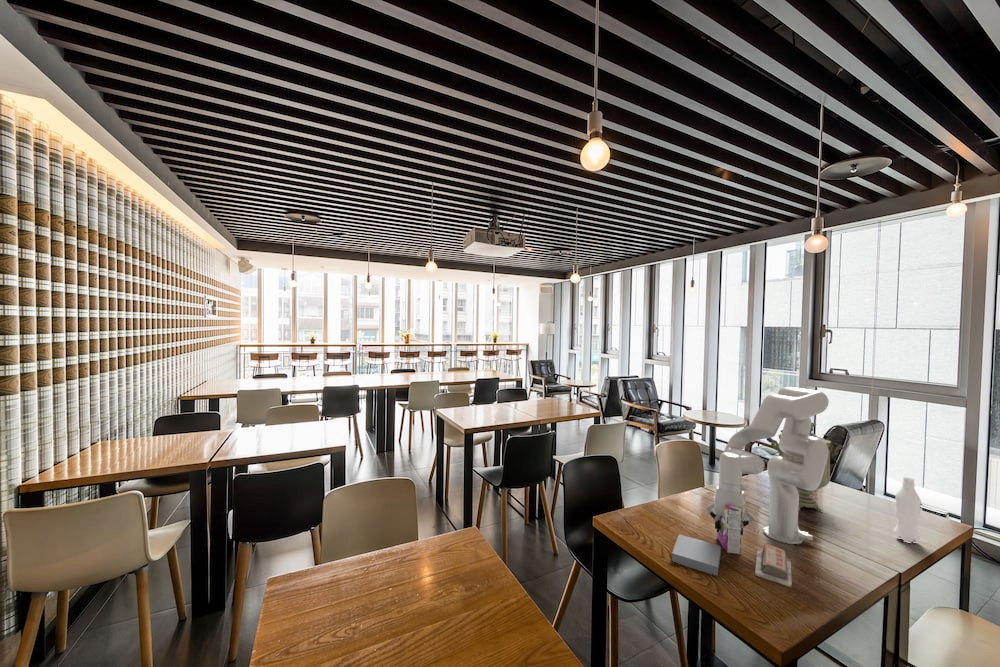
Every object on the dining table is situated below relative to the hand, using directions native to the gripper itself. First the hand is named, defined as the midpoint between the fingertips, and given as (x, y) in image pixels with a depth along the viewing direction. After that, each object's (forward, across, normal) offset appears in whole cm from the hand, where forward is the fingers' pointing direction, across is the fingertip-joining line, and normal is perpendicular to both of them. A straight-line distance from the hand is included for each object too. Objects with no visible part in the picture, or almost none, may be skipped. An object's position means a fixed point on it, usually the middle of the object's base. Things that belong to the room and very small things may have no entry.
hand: (728, 533), depth 148 cm
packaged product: (+6, -14, +7) cm, 16 cm away
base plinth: (+5, +9, +16) cm, 19 cm away
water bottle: (+5, -60, -49) cm, 78 cm away
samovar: (+5, -28, -62) cm, 68 cm away
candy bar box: (+5, 0, 0) cm, 5 cm away
